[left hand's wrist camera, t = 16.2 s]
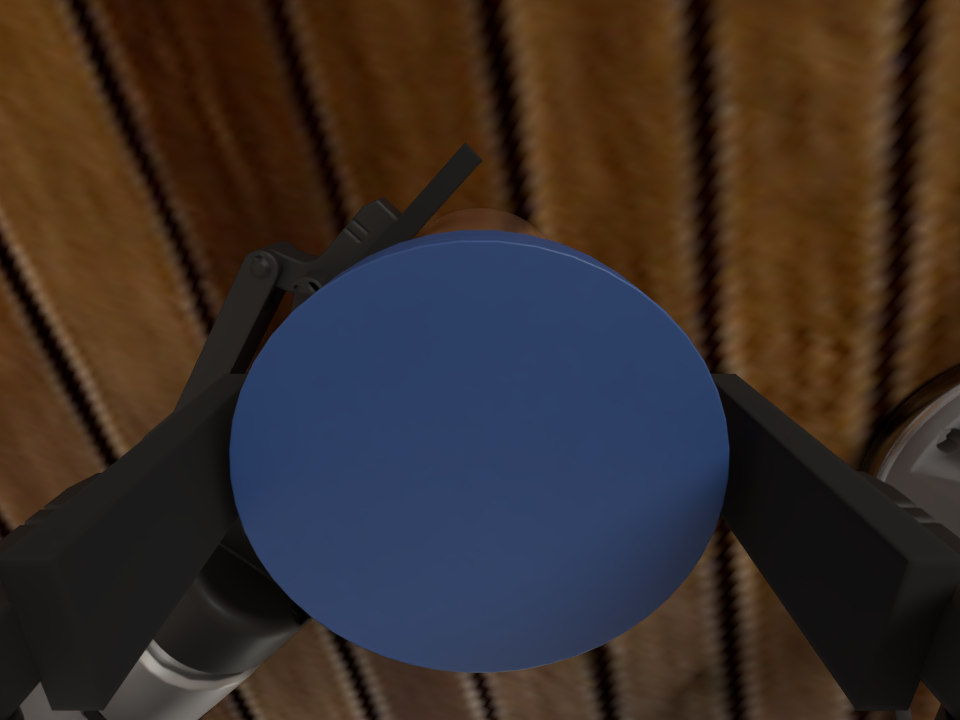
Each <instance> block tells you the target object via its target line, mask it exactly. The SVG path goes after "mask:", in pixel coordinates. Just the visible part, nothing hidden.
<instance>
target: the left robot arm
mask: <svg viewBox="0 0 960 720" xmlns="http://www.w3.org/2000/svg"><path fill="white" fill-rule="evenodd" d="M247 375H248V374H224V375H223V376H221V377H220V378H219V379H218V380H216V381H215V382H214V383H213V384H212V385H210V386H209V387H208V388H207V389H205V390H204V391H203V392H202V393H200V394H199V395H198V396H197V397H195V398H194V399H193V400H192V401H190V402H189V403H188V404H187V405H186V406H184V407H183V408H182V409H181V410H179V411H178V412H177V413H176V414H174V415H173V416H172V417H171V418H169V419H168V420H167V421H166V422H164V423H163V424H162V425H161V426H160V427H158V428H157V429H156V430H155V431H153V432H152V433H151V434H150V435H148V436H147V437H146V438H145V439H143V440H142V441H141V442H140V443H138V444H137V445H136V446H135V447H134V448H132V449H131V450H130V451H129V452H127V453H126V454H125V455H124V456H122V457H121V458H120V459H119V460H117V461H116V462H115V463H114V464H112V465H111V466H110V467H109V468H108V469H106V470H105V471H104V472H103V473H97V474H95V475H93V476H91V477H89V478H87V479H85V480H83V481H81V482H79V483H77V484H75V485H73V486H71V487H69V488H68V489H66V490H65V491H64V492H62V493H61V494H60V495H58V496H57V497H56V498H55V499H53V500H52V501H51V502H49V503H48V504H47V505H46V506H45V509H44V510H39V511H38V512H37V513H35V514H34V515H33V516H31V517H30V518H29V519H28V520H26V521H25V525H20V526H19V527H17V528H16V529H15V530H13V531H12V532H11V533H10V534H8V535H7V536H6V537H4V538H3V539H2V540H1V541H0V720H25V719H24V715H23V712H22V710H21V708H20V705H21V704H22V702H23V701H24V700H25V699H26V698H27V697H28V695H29V694H30V693H31V692H32V691H33V690H34V688H35V687H36V686H37V685H38V684H39V683H40V682H41V684H42V687H43V689H44V692H45V694H46V697H47V699H48V702H49V705H50V707H51V710H52V711H103V710H104V709H105V708H106V706H107V705H108V703H109V702H110V700H111V699H112V698H113V696H114V695H115V693H116V692H117V690H118V689H119V687H120V686H121V685H122V683H123V682H124V680H125V679H126V677H127V676H128V674H129V673H130V672H131V670H132V669H133V667H134V666H135V664H136V663H137V661H138V660H139V659H140V657H141V656H142V654H143V653H144V651H145V650H146V649H147V647H148V646H149V644H150V643H151V641H152V640H153V638H154V637H155V636H156V634H157V633H158V631H159V630H160V628H161V627H162V625H163V624H164V623H165V621H166V620H167V618H168V617H169V615H170V614H171V612H172V611H173V610H174V608H175V607H176V605H177V604H178V602H179V601H180V599H181V598H182V597H183V595H184V594H185V592H186V591H187V589H188V588H189V587H190V585H191V584H192V582H193V581H194V579H195V578H196V576H197V575H198V574H199V572H200V571H201V569H202V568H203V566H204V565H205V563H206V562H207V561H208V559H209V558H210V556H211V555H212V553H213V552H214V550H215V549H216V548H217V546H218V545H219V543H220V542H221V540H222V539H223V538H224V536H225V535H226V533H227V532H228V530H229V529H230V527H231V526H232V525H233V523H234V522H235V520H236V519H237V517H238V516H239V514H238V511H237V508H236V505H235V500H234V495H233V490H232V485H231V479H230V460H229V446H230V437H231V428H232V420H233V416H234V412H235V409H236V405H237V402H238V398H239V394H240V391H241V389H242V386H243V384H244V382H245V380H246V378H247ZM711 377H712V379H713V381H714V383H715V385H716V387H717V390H718V393H719V396H720V400H721V403H722V407H723V411H724V414H725V418H726V424H727V432H728V441H729V475H728V482H727V488H726V493H725V498H724V504H723V507H722V510H721V513H720V514H721V516H722V517H723V519H724V520H725V522H726V523H727V525H728V526H729V527H730V529H731V530H732V532H733V533H734V535H735V536H736V538H737V539H738V540H739V542H740V543H741V545H742V546H743V548H744V549H745V550H746V552H747V553H748V555H749V556H750V558H751V559H752V561H753V562H754V563H755V565H756V566H757V568H758V569H759V571H760V572H761V574H762V575H763V576H764V578H765V579H766V581H767V582H768V584H769V585H770V587H771V588H772V589H773V591H774V592H775V594H776V595H777V597H778V598H779V599H780V601H781V602H782V604H783V605H784V607H785V608H786V610H787V611H788V612H789V614H790V615H791V617H792V618H793V620H794V621H795V623H796V624H797V625H798V627H799V628H800V630H801V631H802V633H803V634H804V636H805V637H806V638H807V640H808V641H809V643H810V644H811V646H812V647H813V649H814V650H815V651H816V653H817V654H818V656H819V657H820V659H821V660H822V661H823V663H824V664H825V666H826V667H827V669H828V670H829V672H830V673H831V674H832V676H833V677H834V679H835V680H836V682H837V683H838V685H839V686H840V687H841V689H842V690H843V692H844V693H845V695H846V696H847V698H848V699H849V700H850V702H851V703H852V705H853V706H854V708H855V709H856V710H857V711H895V720H912V716H911V711H910V705H911V702H912V699H913V697H914V694H915V692H916V689H917V687H918V684H919V682H920V680H921V681H922V682H923V683H924V684H925V685H926V687H927V688H928V689H929V690H930V691H931V692H932V694H933V695H934V696H935V697H936V698H937V699H938V700H939V702H940V703H941V705H940V708H939V710H938V712H937V715H936V717H935V719H934V720H960V365H959V366H957V367H955V368H953V369H951V370H949V371H947V372H946V373H944V374H942V375H941V376H939V377H937V378H936V379H934V380H933V381H931V382H930V383H929V384H927V385H926V386H924V387H923V388H922V389H920V390H919V391H918V392H917V393H916V394H914V395H913V396H912V397H911V398H909V399H908V400H907V401H906V402H905V403H904V404H903V405H902V406H901V407H900V408H899V409H898V410H897V411H896V412H895V413H894V415H893V416H892V417H891V418H890V419H889V420H888V421H887V423H886V424H885V425H884V427H883V428H882V429H881V431H880V432H879V433H878V435H877V437H876V438H875V440H874V441H873V443H872V444H871V446H870V448H869V450H868V452H867V454H866V456H865V459H864V461H863V464H862V466H861V469H860V471H855V470H854V469H852V468H851V467H850V466H849V465H848V464H846V463H845V462H844V461H843V460H841V459H840V458H839V457H838V456H836V455H835V454H834V453H833V452H831V451H830V450H829V449H828V448H826V447H825V446H824V445H823V444H822V443H820V442H819V441H818V440H817V439H815V438H814V437H813V436H812V435H810V434H809V433H808V432H807V431H805V430H804V429H803V428H802V427H800V426H799V425H798V424H797V423H796V422H794V421H793V420H792V419H791V418H789V417H788V416H787V415H786V414H784V413H783V412H782V411H781V410H779V409H778V408H777V407H776V406H774V405H773V404H772V403H771V402H770V401H768V400H767V399H766V398H765V397H763V396H762V395H761V394H760V393H758V392H757V391H756V390H755V389H753V388H752V387H751V386H750V385H748V384H747V383H746V382H745V381H743V380H742V379H741V378H740V377H739V376H737V375H736V374H711Z"/></svg>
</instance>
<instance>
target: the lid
mask: <svg viewBox="0 0 960 720" xmlns="http://www.w3.org/2000/svg"><path fill="white" fill-rule="evenodd" d="M229 460H230V479H231V485H232V490H233V495H234V500H235V505H236V508H237V511H238V514H239V517H240V520H241V523H242V526H243V528H244V531H245V533H246V535H247V537H248V539H249V541H250V543H251V545H252V547H253V549H254V551H255V553H256V555H257V557H258V558H259V560H260V561H261V562H262V564H263V565H264V567H265V568H266V570H267V571H268V573H269V574H270V575H271V577H272V578H273V580H274V581H275V582H276V583H277V584H278V585H279V586H280V587H281V588H282V590H283V591H284V592H285V593H286V594H287V595H288V596H289V597H290V598H291V599H292V600H293V601H294V602H295V603H296V604H297V605H298V606H300V607H301V608H302V609H303V610H304V611H305V612H306V613H308V614H309V615H310V616H311V617H312V618H314V619H315V620H317V621H318V622H319V623H321V624H322V625H324V626H325V627H327V628H328V629H330V630H331V631H332V632H334V633H336V634H337V635H339V636H341V637H343V638H345V639H347V640H348V641H350V642H352V643H354V644H356V645H358V646H360V647H362V648H365V649H367V650H369V651H372V652H374V653H377V654H379V655H382V656H384V657H387V658H391V659H394V660H397V661H401V662H404V663H407V664H411V665H416V666H421V667H426V668H431V669H436V670H445V671H455V672H466V673H479V672H504V671H514V670H523V669H528V668H533V667H538V666H543V665H548V664H552V663H555V662H558V661H562V660H565V659H568V658H571V657H575V656H577V655H580V654H582V653H584V652H587V651H589V650H592V649H594V648H596V647H599V646H601V645H603V644H605V643H607V642H608V641H610V640H612V639H614V638H616V637H618V636H619V635H621V634H623V633H625V632H626V631H628V630H629V629H631V628H632V627H634V626H635V625H636V624H638V623H639V622H641V621H642V620H644V619H645V618H646V617H648V616H649V615H650V614H651V613H652V612H653V611H655V610H656V609H657V608H658V607H659V606H660V605H661V604H663V603H664V602H665V601H666V600H667V599H668V598H669V597H670V596H671V595H672V594H673V593H674V591H675V590H676V589H677V588H678V587H679V586H680V585H681V584H682V582H683V581H684V580H685V579H686V578H687V576H688V575H689V574H690V572H691V571H692V569H693V568H694V566H695V565H696V563H697V562H698V560H699V559H700V558H701V556H702V554H703V552H704V550H705V548H706V546H707V544H708V542H709V540H710V539H711V537H712V535H713V533H714V530H715V528H716V525H717V522H718V519H719V516H720V513H721V510H722V507H723V504H724V498H725V493H726V488H727V482H728V475H729V441H728V432H727V424H726V418H725V414H724V411H723V407H722V403H721V400H720V396H719V393H718V390H717V387H716V385H715V383H714V381H713V379H712V377H711V374H710V372H709V370H708V368H707V366H706V364H705V361H704V360H703V358H702V357H701V355H700V354H699V352H698V351H697V349H696V348H695V346H694V345H693V343H692V342H691V340H690V339H689V337H688V336H687V334H686V333H685V332H684V331H683V330H682V329H681V328H680V327H679V326H678V325H677V323H676V322H675V321H674V320H673V319H672V318H671V317H670V316H669V315H668V314H667V312H666V311H665V310H664V309H662V308H661V307H660V306H659V305H658V304H656V303H655V302H654V301H653V300H651V299H650V298H649V297H648V296H647V295H645V294H644V293H643V292H642V291H640V290H639V289H638V288H637V287H635V286H634V285H633V284H632V283H630V282H629V281H628V280H626V279H625V278H624V277H622V276H621V275H620V274H618V273H617V272H616V271H614V270H612V269H611V268H609V267H607V266H606V265H604V264H602V263H601V262H599V261H597V260H596V259H594V258H592V257H591V256H589V255H586V254H584V253H582V252H579V251H577V250H575V249H572V248H570V247H568V246H565V245H563V244H561V243H558V242H554V241H550V240H547V239H543V238H539V237H536V236H532V235H528V234H521V233H513V232H506V231H498V230H460V231H453V232H445V233H438V234H431V235H426V236H423V237H419V238H416V239H412V240H408V241H405V242H401V243H398V244H395V245H393V246H391V247H388V248H386V249H384V250H381V251H379V252H377V253H375V254H372V255H370V256H368V257H366V258H364V259H363V260H361V261H360V262H358V263H356V264H355V265H353V266H351V267H350V268H348V269H346V270H345V271H343V272H341V273H340V274H339V275H337V276H336V277H335V278H333V279H332V280H331V281H330V282H328V283H327V284H326V285H324V286H323V287H322V288H320V289H319V290H318V291H317V292H315V293H314V294H313V295H312V296H311V297H309V298H308V299H307V300H306V301H304V302H303V303H302V304H301V305H300V306H298V307H297V308H296V309H295V310H294V311H293V312H292V313H291V314H290V315H289V316H288V317H287V318H286V319H285V321H284V322H283V323H282V324H281V325H280V326H279V327H278V328H277V329H276V331H275V332H274V333H273V334H272V335H271V336H270V338H269V339H268V341H267V342H266V344H265V345H264V347H263V349H262V350H261V352H260V353H259V355H258V356H257V358H256V359H255V361H254V362H253V364H252V367H251V369H250V371H249V373H248V375H247V378H246V380H245V382H244V384H243V386H242V389H241V391H240V394H239V398H238V402H237V405H236V409H235V412H234V416H233V420H232V428H231V437H230V446H229Z"/></svg>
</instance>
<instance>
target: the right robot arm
mask: <svg viewBox="0 0 960 720" xmlns="http://www.w3.org/2000/svg"><path fill="white" fill-rule="evenodd" d="M481 162H482V159H481V158H480V157H479V156H478V155H477V154H476V153H475V152H474V151H473V150H472V149H471V148H470V147H469V146H468V145H467V144H466V143H464V144H463V146H462V147H461V148H460V149H459V150H458V151H457V152H456V154H455V155H454V156H453V157H452V158H451V159H450V160H449V161H448V163H447V164H446V165H445V166H444V167H443V168H442V169H441V171H440V172H439V173H438V174H437V175H436V176H435V177H434V178H433V180H432V181H431V182H430V183H429V184H428V185H427V186H426V188H425V189H424V190H423V191H422V192H421V193H420V194H419V195H418V197H417V198H416V199H415V200H414V201H413V202H412V203H411V205H410V206H409V207H408V208H407V209H406V210H405V211H404V212H403V214H401V213H400V212H399V211H398V210H397V209H396V208H395V207H394V206H393V205H392V204H391V203H390V202H389V201H388V200H387V199H386V198H385V197H383V198H380V199H377V200H375V201H373V202H371V203H369V204H367V205H365V206H363V207H362V208H361V210H360V211H359V212H358V213H357V214H356V215H355V217H354V218H353V219H352V220H351V221H350V222H349V224H348V225H347V226H346V227H345V228H344V229H343V231H342V232H341V233H340V234H339V235H338V236H337V238H336V239H335V240H334V241H333V242H332V243H331V245H330V246H329V247H328V248H327V249H326V251H325V252H324V253H323V254H322V255H321V256H313V255H309V254H307V253H305V252H302V251H300V250H298V249H297V248H296V247H295V246H294V245H293V244H292V243H289V242H286V241H279V242H277V243H274V244H271V245H269V246H266V247H263V248H260V249H258V250H255V251H253V252H251V253H249V254H248V255H247V256H246V258H245V259H244V261H243V263H242V266H241V268H240V270H239V272H238V274H237V276H236V278H235V281H234V283H233V285H232V287H231V289H230V291H229V294H228V296H227V298H226V300H225V302H224V304H223V307H222V309H221V311H220V313H219V315H218V317H217V319H216V322H215V324H214V326H213V328H212V330H211V332H210V335H209V337H208V339H207V341H206V343H205V345H204V347H203V350H202V352H201V354H200V356H199V358H198V360H197V363H196V365H195V367H194V369H193V371H192V373H191V376H190V378H189V380H188V382H187V384H186V386H185V388H184V391H183V393H182V395H181V397H180V399H179V401H178V404H177V406H176V408H175V410H174V412H173V413H172V414H170V415H169V416H168V417H167V418H166V419H165V420H163V421H162V422H161V423H160V424H159V425H157V426H156V427H155V428H154V429H153V430H152V431H150V432H149V433H148V434H147V435H146V436H145V437H144V438H143V439H145V438H146V437H147V436H148V435H150V434H151V433H152V432H153V431H155V430H156V429H157V428H158V427H160V426H161V425H162V424H163V423H164V422H166V421H167V420H168V419H169V418H171V417H172V416H173V415H174V414H176V413H177V412H178V411H179V410H181V409H182V408H183V407H184V406H186V405H187V404H188V403H189V402H190V401H192V400H193V399H194V398H195V397H197V396H198V395H199V394H200V393H202V392H203V391H204V390H205V389H207V388H208V387H209V386H210V385H212V384H213V383H214V382H215V381H216V380H218V379H219V378H220V377H221V376H223V375H224V374H245V372H246V370H247V368H248V366H249V364H250V362H251V360H252V358H253V356H254V354H255V352H256V350H257V348H258V346H259V344H260V342H261V340H262V338H263V336H264V334H265V332H266V330H267V328H268V326H269V324H270V322H271V320H272V318H273V316H274V314H275V312H276V310H277V308H278V306H279V304H280V302H281V300H282V298H283V296H284V294H285V292H286V291H288V292H291V293H293V294H295V295H294V299H293V304H292V309H291V313H292V312H293V311H294V310H295V309H296V308H297V307H298V306H300V305H301V304H302V303H303V302H304V301H306V300H307V299H308V298H309V297H311V296H312V295H313V294H314V293H315V292H317V291H318V290H319V289H320V288H322V287H323V286H324V285H326V284H327V283H328V282H330V281H331V280H332V279H333V278H335V277H336V276H337V275H339V274H340V273H341V272H343V271H345V270H346V269H348V268H350V267H351V266H353V265H355V264H356V263H358V262H360V261H361V260H363V259H364V258H366V257H368V256H370V255H372V254H375V253H377V252H379V251H381V250H384V249H386V248H388V247H391V246H393V245H395V244H398V243H401V242H405V241H408V240H411V239H412V238H413V237H414V236H415V235H416V234H417V232H418V231H419V230H420V229H421V228H422V227H423V226H424V225H425V224H426V223H427V221H428V220H429V219H430V218H431V217H432V216H433V215H434V214H435V213H436V211H437V210H438V209H439V208H440V207H441V206H442V205H443V204H444V203H445V201H446V200H447V199H448V198H449V197H450V196H451V195H452V194H453V193H454V191H455V190H456V189H457V188H458V187H459V186H460V185H461V184H462V183H463V182H464V180H465V179H466V178H467V177H468V176H469V175H470V174H471V173H472V172H473V170H474V169H475V168H476V167H477V166H478V165H479V164H480V163H481ZM311 619H312V617H311V616H310V615H309V614H308V613H306V612H305V611H304V610H303V609H302V608H301V607H300V606H298V605H297V604H296V603H295V602H294V601H293V600H292V599H291V598H290V597H289V596H288V595H287V594H286V593H285V592H284V591H283V590H282V588H281V587H280V586H279V585H278V584H277V583H276V582H275V581H274V580H273V578H272V577H271V575H270V574H269V573H268V571H267V570H266V568H265V567H264V565H263V564H262V562H261V561H260V560H259V558H258V557H257V555H256V553H255V551H254V549H253V547H252V545H251V543H250V541H249V539H248V537H247V535H246V533H245V531H244V528H243V526H242V523H241V520H240V517H239V516H238V517H237V519H236V520H235V522H234V523H233V525H232V526H231V527H230V529H229V530H228V532H227V533H226V535H225V536H224V538H223V539H222V540H221V542H220V543H219V545H218V546H217V548H216V549H215V550H214V552H213V553H212V555H211V556H210V558H209V559H208V561H207V562H206V563H205V565H204V566H203V568H202V569H201V571H200V572H199V574H198V575H197V576H196V578H195V579H194V581H193V582H192V584H191V585H190V587H189V588H188V589H187V591H186V592H185V594H184V595H183V597H182V598H181V599H180V601H179V602H178V604H177V605H176V607H175V608H174V610H173V611H172V612H171V614H170V615H169V617H168V618H167V620H166V621H165V623H164V624H163V625H162V627H161V628H160V630H159V631H158V633H157V634H156V636H155V637H154V638H153V640H152V641H151V643H150V644H149V646H148V647H147V649H146V650H145V651H144V653H143V654H142V656H141V657H140V659H139V660H138V661H137V663H136V664H135V666H134V667H133V669H132V670H131V672H130V673H129V674H128V676H127V677H126V679H125V680H124V682H123V683H122V685H121V686H120V687H119V689H118V690H117V692H116V693H115V695H114V696H113V698H112V699H111V700H110V702H109V703H108V705H107V706H106V708H105V709H104V710H103V711H52V710H51V707H50V705H49V702H48V699H47V697H46V694H45V692H44V689H43V687H42V684H41V682H40V683H39V684H38V685H37V686H36V687H35V688H34V690H33V691H32V692H31V693H30V694H29V695H28V697H27V698H26V699H25V700H24V701H23V702H22V704H21V705H20V708H21V710H22V712H23V715H24V719H25V720H200V719H201V718H202V717H203V716H204V715H205V714H207V713H208V712H209V711H210V710H211V709H212V708H213V707H214V706H215V705H216V704H217V703H218V702H220V701H221V700H222V699H223V698H224V697H225V696H227V695H228V694H229V693H230V692H231V691H233V690H234V689H235V688H236V687H237V686H238V685H240V684H241V683H242V682H243V681H244V680H245V679H247V678H248V677H249V676H250V675H251V674H252V673H253V672H254V671H255V670H256V669H257V668H258V667H259V666H260V665H261V664H262V663H263V662H264V661H266V660H267V659H268V658H269V657H270V656H271V655H273V654H274V653H275V652H276V651H277V650H278V649H279V648H280V647H282V646H283V645H284V644H285V643H286V642H287V641H288V640H289V639H290V638H292V637H293V636H294V635H295V634H296V633H297V632H298V631H299V630H300V629H302V628H303V627H304V626H305V625H306V624H307V623H308V622H309V621H310V620H311Z"/></svg>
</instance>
